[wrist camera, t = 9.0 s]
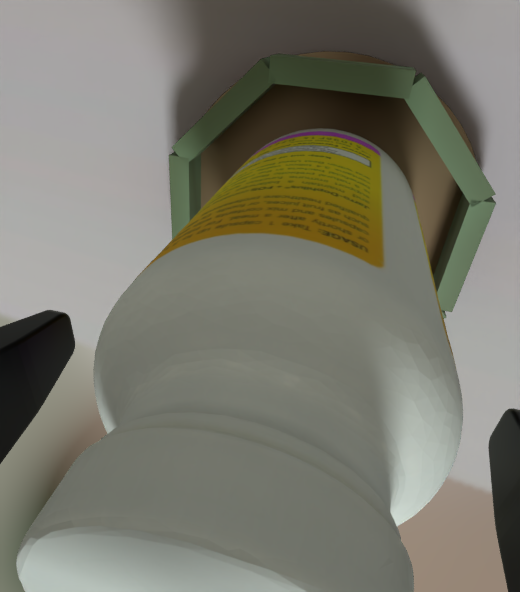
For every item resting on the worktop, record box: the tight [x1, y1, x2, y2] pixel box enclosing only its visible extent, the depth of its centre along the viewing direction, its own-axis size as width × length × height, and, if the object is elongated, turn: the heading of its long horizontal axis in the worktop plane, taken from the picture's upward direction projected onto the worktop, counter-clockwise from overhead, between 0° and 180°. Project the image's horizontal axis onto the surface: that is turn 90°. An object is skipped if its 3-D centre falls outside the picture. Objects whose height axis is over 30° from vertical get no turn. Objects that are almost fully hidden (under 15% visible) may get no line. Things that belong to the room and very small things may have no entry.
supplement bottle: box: [16, 128, 463, 592], centre depth 10 cm, size 7×7×13 cm
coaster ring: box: [169, 51, 496, 319], centre depth 15 cm, size 11×11×2 cm
